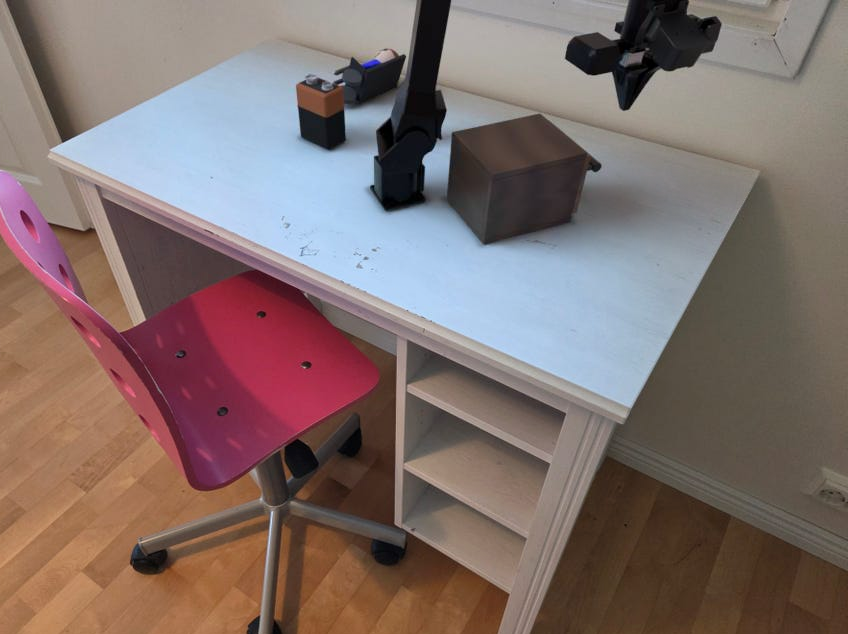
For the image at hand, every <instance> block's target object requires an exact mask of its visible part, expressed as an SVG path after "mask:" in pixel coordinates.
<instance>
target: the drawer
mask: <svg viewBox="0 0 848 634" xmlns="http://www.w3.org/2000/svg"><path fill="white" fill-rule="evenodd" d="M549 121H550V122H551V123H552V124H553V125H555V124H554V122H552V121H551V120H549ZM555 126H556V127H557V128H558V129H559V130H561V128H559V127H558V126H557V125H555ZM561 131H562V132H563V133H564V134H565V135H567V134H566V133H565V132H564V131H563V130H561ZM567 136H568V137H569V138H570V139H571V140H572V141H574V142H575V143H576V144H577V145H578V146H580V147H581V148H582V149H583V150H584V151H586V152H587V157H586V161H585V165H584V169H583V172H582V176H581V180H580V184H579V188H578V192H577V196H576V200H575V204H574V208H573V212H572V214H575V213H578V208H579V205H580V200H581V196H582V193H583V188H584V185H585V180H586V176H587V173H588V172H593V173H598V172H599V171H600V170H601V168H602V166H603V165H602V163H601V162H599V160H597V159H596V158H595V157H594V156H592V154H590V153H589V152H588V151H587V150H586V149H584V148H583V147H582V146H581V145H580V144H578V143H577V142H576V141H575V140H573V139H572V138H571V137H570V136H569V135H567Z"/></svg>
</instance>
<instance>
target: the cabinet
mask: <svg viewBox="0 0 848 634" xmlns="http://www.w3.org/2000/svg"><path fill="white" fill-rule="evenodd" d="M550 121H551V120H550V119H547V118H546V117H545V116H544V115H543V114H541V113H536V114H531V115H527V116H521V117H516V118H512V119H507V120H502V121H498V122H492V123H489V124H484V125H479V126H474V127H470V128H464V129H460V130H456V131H455V130H454V131H451V139H450V140H451V141H450V154H449V165H448V177H447V178H448V179H447V187H446V188H447V189H446V201H447V203H448V204H449V205H450V206H451V207H452V208H453V210H454V211H455V212H456V213H457V215H458V216H459V217H460V218H461V219H462V220H463V221H464V223H465V224H466V225H467V226H468V228H469V229H470V230H471V231H472V233H473V234H474V235H475V237H477V239H478V240H479V242H480V243H482V245H487V244H491V243H495V242H499V241H503V240H507V239H511V238H514V237H519V236H522V235H525V234H529V233H533V232H537V231H541V230H545V229H548V228H552V227H556V226H560V225H565V224H568V223H571V222H572V221H571V220H572V216H573V213H572V212H573V208H574V204H575V200H576V196H577V192H578V188H579V184H580V180H581V176H582V172H583V169H584V165H585V161H586V157H587V152H588V151H587V150H585V149H584V148H583V147H582V146H581V145H579V144H578V143H577V142H576V141H575V140H573V139H572V138H571V137H570V136H569V135H567V134H566V133H565V132H564V131H563V130H562V129H560V128H559V127H558V126H557V125H556V124H554V123H553V122H552V121H551V122H552V123H553V124H554V125H553V124H552V123H551V122H550ZM556 126H557V127H558V128H559V129H560V130H559V129H558V128H557V127H556ZM562 131H563V132H564V133H565V134H566V135H565V134H564V133H563V132H562ZM568 136H569V137H570V138H571V139H572V140H573V141H572V140H571V139H570V138H569V137H568ZM574 141H575V142H576V143H577V144H578V145H579V146H578V145H577V144H576V143H575V142H574ZM580 146H581V147H582V148H583V149H584V150H585V151H584V150H583V149H582V148H581V147H580ZM586 151H587V152H586Z"/></svg>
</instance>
